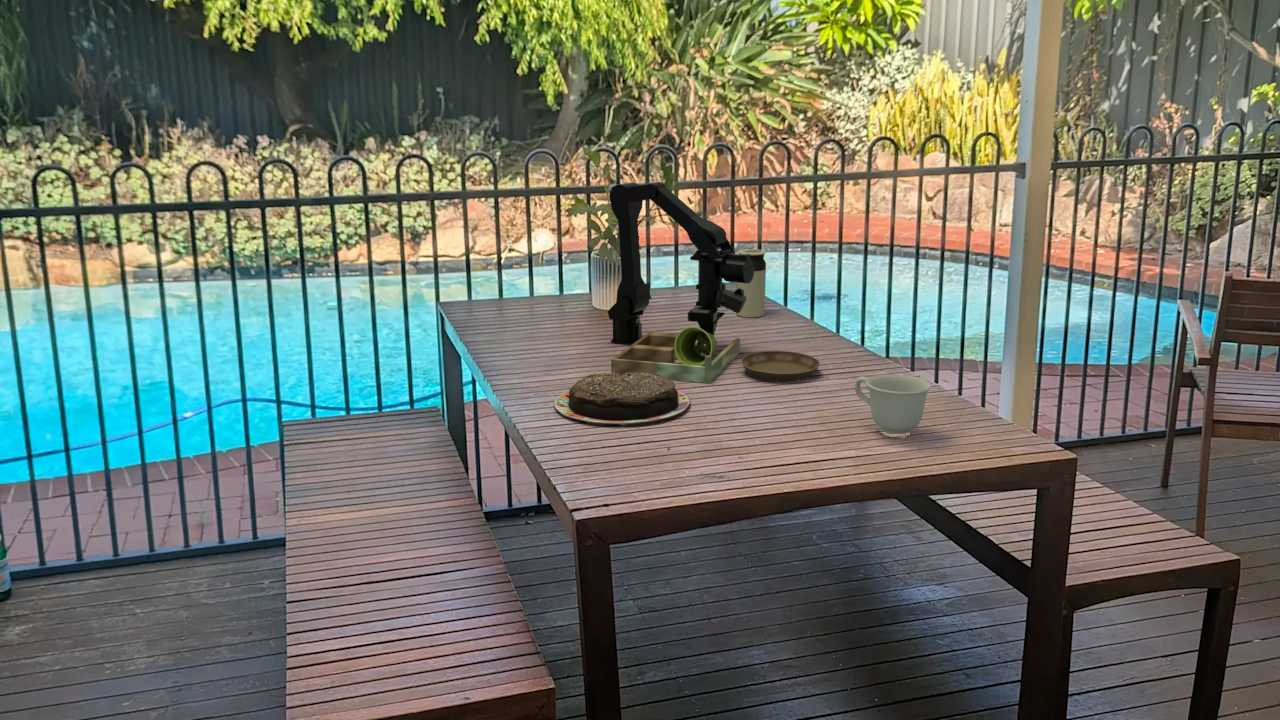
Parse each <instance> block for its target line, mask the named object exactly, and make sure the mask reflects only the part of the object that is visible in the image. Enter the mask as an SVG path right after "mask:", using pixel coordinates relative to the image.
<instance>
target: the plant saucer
mask: <svg viewBox="0 0 1280 720" xmlns="http://www.w3.org/2000/svg"><path fill="white" fill-rule="evenodd" d="M740 363H741V364H742V367H743V368H744V369H745V371H746V372H747V373H748V374H749V375H750V376H751V377H753V378H754V379H757V378H758V380H761V379H762V380H761V381H766V380H768V381H767V382H774V381H778V382H777V383H791V382H790V381H793V382H800V381H804V380H807V379H808V378H809V379H810V377H811V376H812V375H813V374H814V373H816V372H817V370H818V369H819V367H820V365H821V363H820V361H819V360H818V359H817V358H815V357H813V356H811V355H809V354H805V353H801V352H795V351H786V350H784V351H783V350H767V351H758V352H754V353H749V354H747V355H745V356H743V357H742V358H741V360H740ZM799 380H800V381H799Z"/></svg>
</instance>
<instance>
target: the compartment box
mask: <svg viewBox="0 0 1280 720" xmlns="http://www.w3.org/2000/svg"><path fill="white" fill-rule="evenodd" d="M678 334H679V333H672V332H660V331H649V332H648V333H646V334H645V335H642V338H641V339H639V340H638V341H636V342H635V343H634V344H630V346H628V347H627V348H625V349H624V350H622V351H621V352H620V353H618V354H617V355H615V356H614V357H612V358H611V360H610V361H611V362H610V364H611V365H610V366H611V367H610V372H611V373H613V372H615V373H616V374H621V373H623V374H624V373H631V372H636V373H641V372H642V373H648V374H649V373H652V372H654V373H657V374H659V375H660V376H663V377H664V378H666V379H668V380H670V381H678V380H680V381H681V382H689V381H694V382H693V383H700V382H705V383H704V384H711V383H712V381H713V380H714V379H716V377H718V375H719V374H720V373H721V372H722V371H723V370H724V369H725V368H727V366H728V365H729V364H730V363H731V362H732V361H733V360H734V359H735V358H736V357H737V356H738V355H739V354H740V353H741V338H738V337H736V338H735V339H733V341H732V342H730V343H729V344H728V345H727V347H725V348H724V349H723V350H722V351H721V352H720V353H719V354H718V355H717V356H715V357H714V359H712V356H708V355H704V356H705V364H704V365H702V366H695V365H684V364H682V363H681V364H680V363H675V361H676V360H677V359H678V358H677V356H676V354H675V349H674V344H675V340H676V337H677V335H678ZM676 358H677V359H676ZM611 373H610V374H611ZM680 381H679V382H680Z"/></svg>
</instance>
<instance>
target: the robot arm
mask: <svg viewBox="0 0 1280 720" xmlns="http://www.w3.org/2000/svg"><path fill="white" fill-rule="evenodd" d="M608 197H609V202H610V203H609V204H610V208H611V211H612V214H614V216H615V219H616V220H617V225H618V226H617V228H618V239H619V242H618V243H619V254H620V255H619V256H620V258H619V259H620V273H621V279H620V282H619V284H618V287H617V289H616V300H615V301H616V302H615V303H614V304H613V305H612V306H611V307H610V308H609V310H607V315H608V319H609V320H611V321H612V339H611V340H610V343H612V344H623V345H632V344H634V343H635V342H636V341H638V340H639V339H641V338H642V337H643V333H642V332H643V329H642V328H643V324H642V322H641V317H640V316H643V315H644V312H645V310H646V309H647V307H648V306H649V304H650V300H651V299H652V295H651V291H650V290H651V284H650V282H647V283H646V282H645V281H644V279H643V278H642V272H641V270H642V268H641V257H640V256H641V255H640V253H641V252H640V241H639V240H640V239H639V237H640V235H639V222H638V221H639V217H640V214H641V212H642V208H643V202H644V201H648V200H650V201H652V202H653V204H655V205H656V206H657V207H658V208H659V209H661V211H663V212H664V213H665V214H667V215H668V216H669V217H670V218H671V219H672V220H673V221H675V222H676V224H678V225H679V226H680V227H681V228H682V229H683V230H684V231H685V232H686V233H687V236H688V239H689V240H690V242H691V243H692V244H693V245H694V247H695V248H696V251H695V252H694V254H692V255H691V256H690V257H689V259H690V260H691V261H697V262H698V263H697V265H698V269H697V271H698V273H697V274H698V275H697V277H698V278H697V281H698V283H697V284H696V285H695V290H698V291H697V301H695V306H694V307H693V308H691V309H690V310H689V311H688V312H687V322H697V324H698V327H699V328H701V329H703V330H704V331H705V332H707V333H710V334H712V335H713V336H714V337H715V333H716V330H717V326H718V322H719V321H720V319H722V317H724V316H725V315H726V313H725V312H721V311H720V309H721V307H724V308H725V309H727V310H728V309H729V310H731V311H732V312H734V313H735V314H736V313H739V312H740V311H742V309H743V306H744V304H745V302H746V296H744V290H743V289H740V288H738V289H737V288H736V289H735V290H734V291H733V290H728V289H726V287H727V286H726V283H725V282H730V283H737V282H738V283H747V284H749V283H750V282H751V281H752V279H753V276H754V267H753V262H752V260H750V254H739V253H736V251H735V249H734V248H733V246H732V245H731V243H730V242H729V239H728V238H727V233H726V230H725V229H724V228H723V227H722V226H720V225H718V224H716V223H715V222H713V221H711V220H710V219H707V218H704V217H702V216H700V215H699V214H697V213H696V212H695V211H694V210H693V209H692V208H691V207H689V206H688V205H687V204H686V203H684V201H682V199H680V198H679V197H678V196H676V195H675V193H674V192H673V191H671V190H670V189H669V188H668V187H667V186H666V185H665V183H663V182H661V181H655V182H649V183H648V184H642V185H639V184H637V183H635V182H628V183H627V182H625V183H621V184H616V185H614V186H612V188H611V189H610V190H609V195H608ZM723 281H725V282H723ZM705 336H707V335H705Z"/></svg>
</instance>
